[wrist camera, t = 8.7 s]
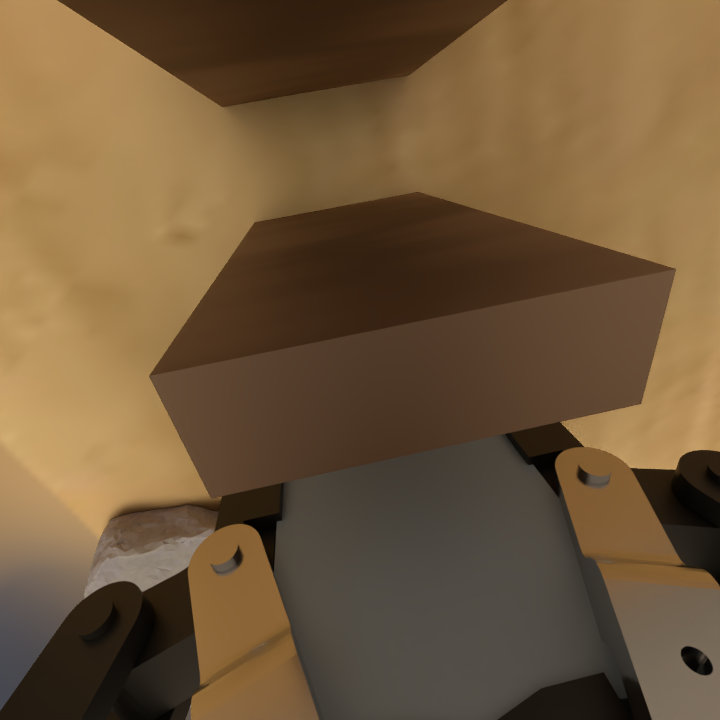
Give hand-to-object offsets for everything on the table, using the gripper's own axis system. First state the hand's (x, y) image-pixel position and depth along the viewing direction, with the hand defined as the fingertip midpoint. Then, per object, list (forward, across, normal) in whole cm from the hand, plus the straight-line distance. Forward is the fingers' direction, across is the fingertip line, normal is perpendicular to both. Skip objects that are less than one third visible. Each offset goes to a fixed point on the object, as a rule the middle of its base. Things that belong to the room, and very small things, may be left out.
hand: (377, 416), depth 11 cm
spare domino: (+2, 0, 0) cm, 2 cm away
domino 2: (+4, 0, -4) cm, 6 cm away
